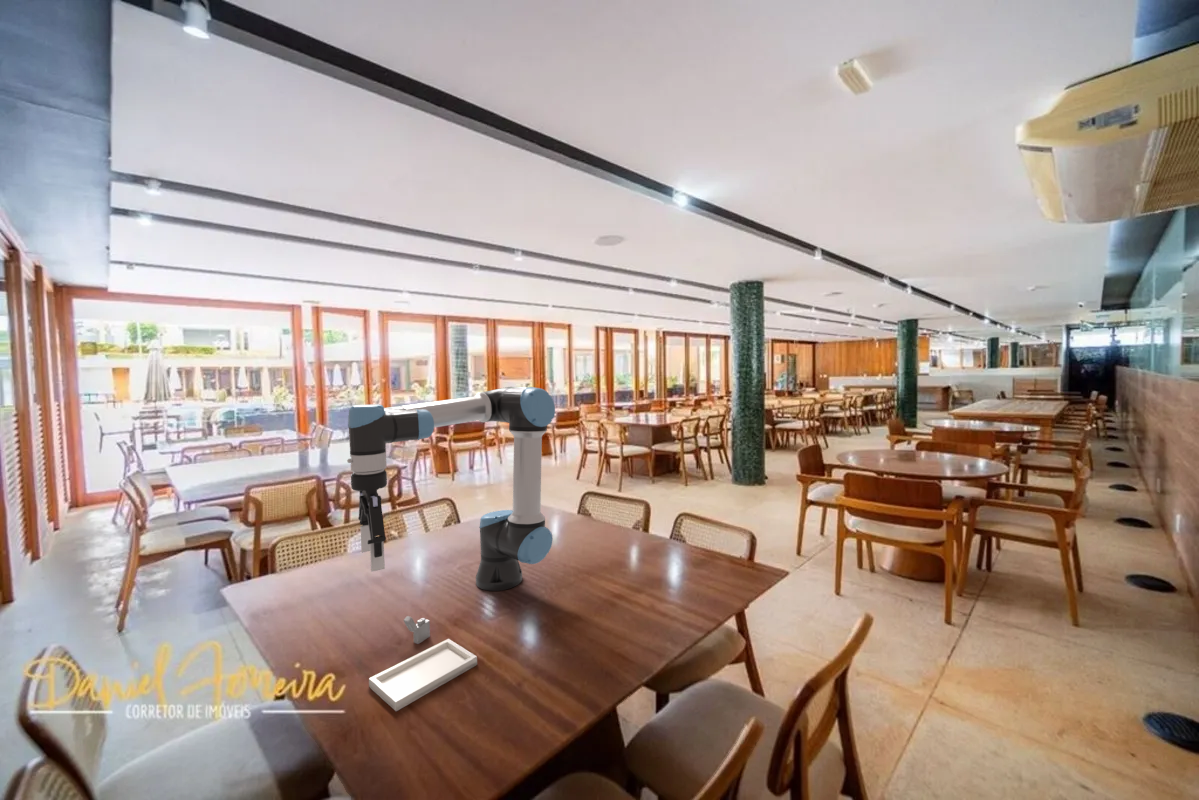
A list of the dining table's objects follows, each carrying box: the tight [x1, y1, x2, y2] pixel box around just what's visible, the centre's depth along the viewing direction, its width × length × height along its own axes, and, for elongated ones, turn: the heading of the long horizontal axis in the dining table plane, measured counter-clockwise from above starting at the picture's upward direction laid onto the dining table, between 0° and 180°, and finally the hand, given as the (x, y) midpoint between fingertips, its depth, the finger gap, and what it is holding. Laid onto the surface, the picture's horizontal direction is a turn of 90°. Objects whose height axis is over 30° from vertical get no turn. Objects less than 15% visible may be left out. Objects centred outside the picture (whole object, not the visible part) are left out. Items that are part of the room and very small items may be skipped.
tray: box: [368, 638, 478, 712], centre depth 109 cm, size 20×12×2 cm, turn 140°
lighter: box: [402, 615, 431, 645], centre depth 122 cm, size 7×2×8 cm, turn 153°
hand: (372, 560), depth 112 cm, fingers open, 13 cm apart
